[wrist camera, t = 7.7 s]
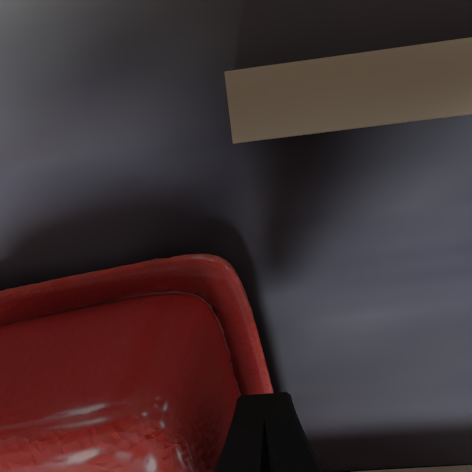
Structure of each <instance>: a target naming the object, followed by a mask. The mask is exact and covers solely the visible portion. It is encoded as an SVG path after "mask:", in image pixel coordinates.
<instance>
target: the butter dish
mask: <svg viewBox="0 0 472 472" xmlns="http://www.w3.org/2000/svg"><path fill="white" fill-rule="evenodd" d="M266 393H274V392H273V389H272V384H271V381H270V376H269V373H268V369H267V365H266V361H265V357H264V353H263V348H262V345H261V342H260V338H259V334H258V330H257V327H256V323H255V321H254V318H253V312H252V309H251V306H250V304H249V301H248V299H247V295H246V292H245V289H244V287H243V285H242V282H241V280H240V278H239V277H238V274H237V273H236V271H235V269H234V268H233V267H232V265H231V264H230V263H229V262H228V261H227V260H225V259H223V258H221V257H219V256H216V255H211V254H188V255H180V256H174V257H171V258H155V259H153V260H149V261H143V262H140V263H135V264H129V265H123V266H119V267H114V268H110V269H104V270H99V271H93V272H88V273H84V274H78V275H73V276H68V277H63V278H59V279H53V280H49V281H44V282H41V283H37V284H28V285H26V286H19V287H16V288H10V289H5V290H1V291H0V472H214V470H215V467H216V464H217V462H218V459H219V456H220V454H221V451H222V449H223V446H224V443H225V440H226V437H227V434H228V431H229V428H230V425H231V422H232V418H233V415H234V411H235V407H236V402H237V399H238V398H239V397H240V396H241V395H253V394H266Z"/></svg>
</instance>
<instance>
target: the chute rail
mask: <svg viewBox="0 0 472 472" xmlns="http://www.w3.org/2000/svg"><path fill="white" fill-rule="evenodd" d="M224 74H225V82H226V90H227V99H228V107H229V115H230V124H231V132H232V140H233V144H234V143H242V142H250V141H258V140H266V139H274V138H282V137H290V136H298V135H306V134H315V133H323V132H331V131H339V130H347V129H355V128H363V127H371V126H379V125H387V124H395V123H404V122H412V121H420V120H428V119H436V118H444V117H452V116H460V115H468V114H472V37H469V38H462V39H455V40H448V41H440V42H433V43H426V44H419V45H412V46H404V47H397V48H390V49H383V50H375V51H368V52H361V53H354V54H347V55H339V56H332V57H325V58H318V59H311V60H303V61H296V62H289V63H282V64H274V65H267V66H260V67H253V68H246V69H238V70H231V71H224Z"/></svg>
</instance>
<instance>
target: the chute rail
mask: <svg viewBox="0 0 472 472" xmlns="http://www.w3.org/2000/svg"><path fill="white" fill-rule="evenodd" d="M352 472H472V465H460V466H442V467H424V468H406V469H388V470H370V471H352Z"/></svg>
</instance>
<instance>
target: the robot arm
mask: <svg viewBox="0 0 472 472" xmlns="http://www.w3.org/2000/svg"><path fill="white" fill-rule="evenodd" d="M214 472H324V471H323V469H322V467H321V465H320V463H319V461H318V460H317V458H316V456H315V454H314V452H313V450H312V448H311V446H310V444H309V442H308V440H307V438H306V435H305V433H304V431H303V429H302V426H301V424H300V422H299V419H298V417H297V414H296V411H295V408H294V405H293V402H292V399H291V395H290V394H288V393H287V392H280V393H266V394H253V395H241V396H240V397H239V398H238V399H237V402H236V407H235V411H234V415H233V418H232V422H231V425H230V428H229V431H228V434H227V437H226V440H225V443H224V446H223V449H222V451H221V454H220V456H219V459H218V462H217V464H216V467H215V470H214Z"/></svg>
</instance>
